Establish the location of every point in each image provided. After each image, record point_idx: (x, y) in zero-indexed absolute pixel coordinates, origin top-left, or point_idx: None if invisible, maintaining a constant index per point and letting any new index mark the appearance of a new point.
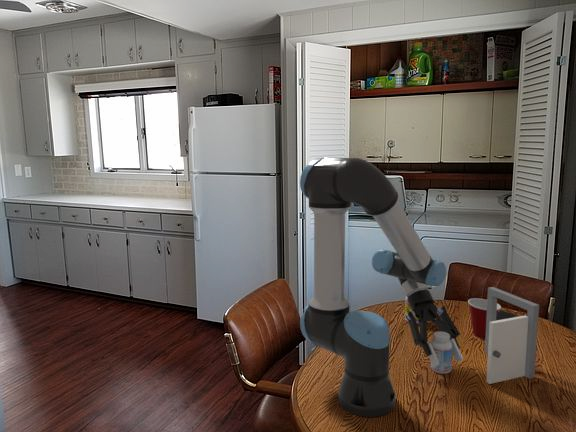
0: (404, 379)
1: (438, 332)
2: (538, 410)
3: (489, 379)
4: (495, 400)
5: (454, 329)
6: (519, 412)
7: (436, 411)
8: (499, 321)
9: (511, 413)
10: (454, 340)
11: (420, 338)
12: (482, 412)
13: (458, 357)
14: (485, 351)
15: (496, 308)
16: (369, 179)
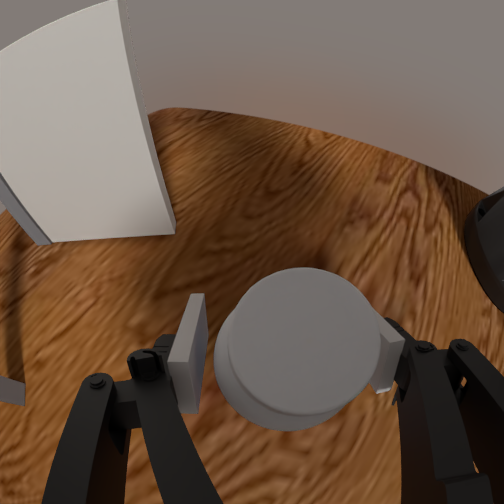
0: (432, 334)
1: (317, 388)
2: (166, 136)
3: (173, 213)
4: (222, 172)
5: (98, 409)
6: (208, 137)
7: (388, 183)
8: (72, 13)
9: (227, 137)
10: (173, 351)
11: (461, 355)
12: (288, 152)
13: (204, 315)
14: (20, 402)
15: None
16: None
